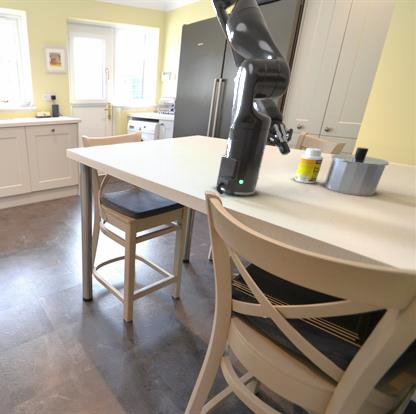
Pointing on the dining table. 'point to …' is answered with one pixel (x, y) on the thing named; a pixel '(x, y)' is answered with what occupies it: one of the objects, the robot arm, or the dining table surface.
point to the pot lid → (360, 158)
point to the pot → (353, 178)
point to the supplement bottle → (309, 166)
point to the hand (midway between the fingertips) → (286, 153)
